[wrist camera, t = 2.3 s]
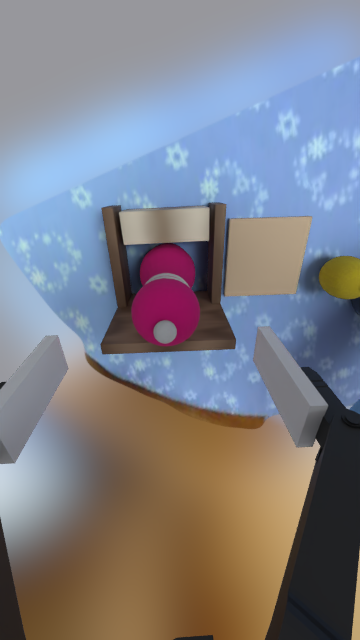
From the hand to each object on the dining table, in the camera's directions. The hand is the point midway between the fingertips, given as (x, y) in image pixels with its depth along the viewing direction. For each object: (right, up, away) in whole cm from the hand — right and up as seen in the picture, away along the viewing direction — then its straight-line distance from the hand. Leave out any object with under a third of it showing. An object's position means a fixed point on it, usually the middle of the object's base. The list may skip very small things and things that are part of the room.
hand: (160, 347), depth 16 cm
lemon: (+24, +10, +20) cm, 33 cm away
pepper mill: (0, +10, +19) cm, 22 cm away
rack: (0, +11, +18) cm, 21 cm away
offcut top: (0, +14, +14) cm, 20 cm away
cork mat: (+14, +11, +19) cm, 26 cm away
